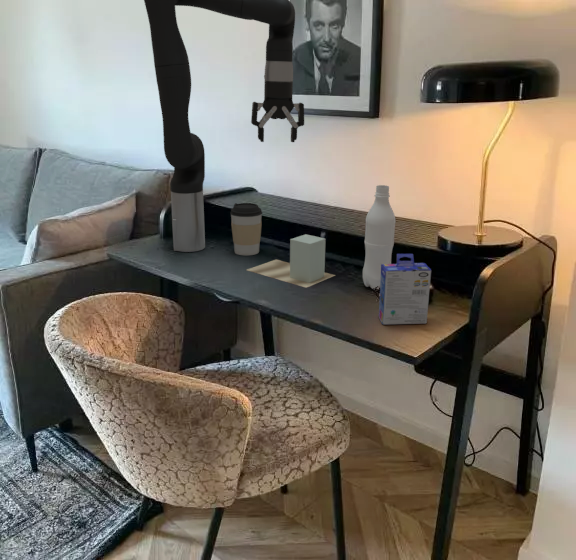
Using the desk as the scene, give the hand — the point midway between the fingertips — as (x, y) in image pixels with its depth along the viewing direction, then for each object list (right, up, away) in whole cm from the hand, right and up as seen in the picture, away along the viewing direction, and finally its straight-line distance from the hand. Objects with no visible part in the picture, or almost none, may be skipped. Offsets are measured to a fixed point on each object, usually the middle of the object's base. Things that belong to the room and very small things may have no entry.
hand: (277, 141), depth 167 cm
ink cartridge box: (+28, -47, -35) cm, 65 cm away
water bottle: (+25, -40, -16) cm, 49 cm away
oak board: (+3, -37, -10) cm, 39 cm away
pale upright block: (+8, -37, -13) cm, 40 cm away
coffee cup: (-9, -31, +7) cm, 33 cm away
